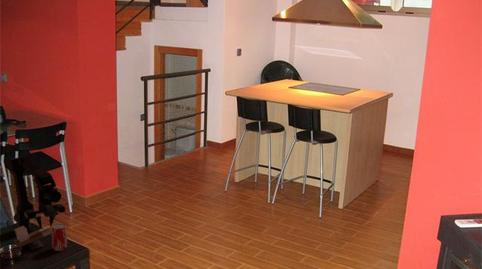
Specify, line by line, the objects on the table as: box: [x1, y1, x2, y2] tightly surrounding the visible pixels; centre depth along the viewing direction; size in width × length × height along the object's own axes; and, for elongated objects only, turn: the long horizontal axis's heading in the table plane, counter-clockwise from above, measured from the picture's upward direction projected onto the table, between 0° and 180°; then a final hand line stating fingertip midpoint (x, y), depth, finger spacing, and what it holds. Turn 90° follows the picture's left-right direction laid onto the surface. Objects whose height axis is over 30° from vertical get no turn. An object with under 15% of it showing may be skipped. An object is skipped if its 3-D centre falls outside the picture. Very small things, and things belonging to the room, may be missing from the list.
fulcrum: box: [26, 239, 45, 250], centre depth 259 cm, size 8×6×4 cm
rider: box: [13, 226, 30, 243], centre depth 254 cm, size 4×4×6 cm
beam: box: [13, 225, 53, 249], centre depth 258 cm, size 6×18×2 cm, turn 129°
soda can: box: [51, 223, 68, 252], centre depth 255 cm, size 7×7×12 cm
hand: (45, 227), depth 261 cm, fingers open, 4 cm apart
